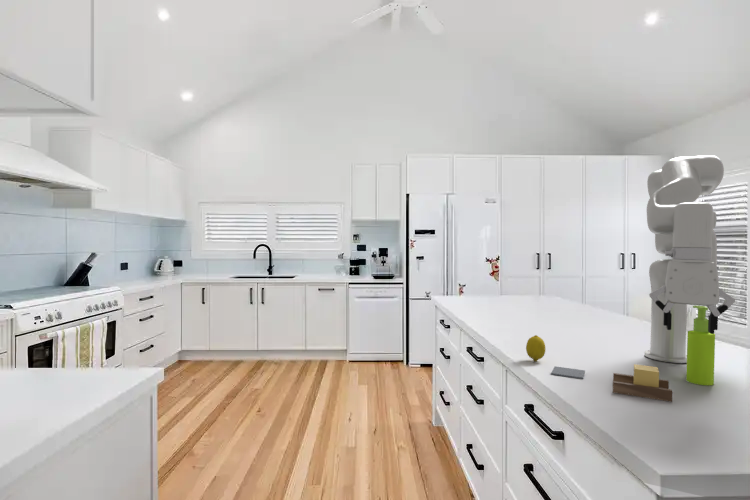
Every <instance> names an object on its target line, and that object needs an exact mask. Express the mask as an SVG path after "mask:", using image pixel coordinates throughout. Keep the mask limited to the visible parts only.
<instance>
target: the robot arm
mask: <svg viewBox="0 0 750 500" xmlns="http://www.w3.org/2000/svg"><path fill="white" fill-rule="evenodd" d="M724 171H725V168H724V164H723V161H722V160H721V159H720V158H719V157H718V156H716V155H695V156H678V157H674V158H671V159H669V160H667V161H665V163H663V165H662V168H661V169H659V170H655V171H653V172H651V173H650V174H649V175H648V177H647V182H646V183H647V192H648V196H649V198H648V201H647V204H646V223H647V227H648V230H649V231H650V232H651V233H652V234H654V244H655V245H654V247H655V249H656V251H657V252H658V253H659V254H662V255H665V257H667V256H668V257H670V259H669V258H668V259H667V258H663V259H662V258H661V259H657V260H655V261H653V262H652V263H651V264H650V266H649V270H648V272H649V273H648V275H649V283H650V290H651V292H650V293H649V294H648V295H649V298H651V299H650V300H651V307H650V311H651V314H650V343H649V344H650V345H649V346H650V347H649V350H645V351H644V356H645V357H646V358H649V359H651V360H655V361H660V362H666V363H675V364H687V321H688V320H687V319H688V305H689V306H690V305H692V306H705V307H707V308H708V311H709V312H710V313H709V314H708V315H707V316H708V317H707V319H708V332H709V333H711V334H715V331H718V330H719V329H718V325H719V324H718V323H719V322H718V321H719V317H720V316H721V314H723V313H725V312H726V311H727V310H729V308H730V307H731V306H733V305H734V304H735V302H736V299H735V298H734V297H732V296H730V295H729V294H728V293H726V292H724V290H722V289H720V282H719V272H718V270H719V269H718V266H717V264H718V263H717V261H718V259H717V257H718V251H717V250H718V247H717V246H718V243H717V234H716V232H715V228H716V226H717V219H718V218H717V212H716V211H715V210H714V208H713V205H712V204H710V203H709V202H705V201H704V202H701V201H696V200H698V199H699V197H700V196H708V195H710V194H712V193H713V192H714V191H716V189H717V188H718V186H719V185H720V184H721V182H722V180H723V179H724V173H725V172H724ZM720 297H721V299H723V300H724V301H723V303H721V304H720V305H719V306H718V307H716V305H718V304H719V301H720Z"/></svg>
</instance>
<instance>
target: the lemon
mask: <svg viewBox="0 0 750 500" xmlns="http://www.w3.org/2000/svg"><path fill="white" fill-rule="evenodd" d="M525 346H526V347H525V349H526V353H527V356H528V357H529V358H530V359H531V360H533V361H534V362H537V361H538V360H541V359H543V357H544V356H545V354H546V343H545V341H544V339H543V338H542V337H540V336H538V335H537V334H535V335H533V336H531V337H529V339H528V340H527V342H526V345H525Z"/></svg>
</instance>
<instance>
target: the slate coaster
mask: <svg viewBox="0 0 750 500" xmlns="http://www.w3.org/2000/svg"><path fill="white" fill-rule="evenodd" d="M585 373H586V370H585V369H577V368H570V367H564V366H563V367H561V366H554V367H553V369H552V371H551V373H550V375H551V376H558V377H559V376H560V377H565V378H572V379H580V380H584V377H585Z"/></svg>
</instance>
